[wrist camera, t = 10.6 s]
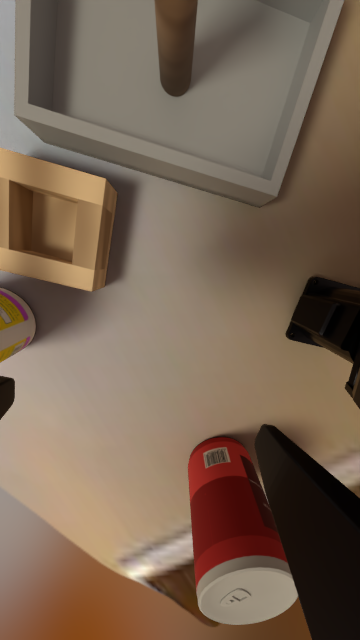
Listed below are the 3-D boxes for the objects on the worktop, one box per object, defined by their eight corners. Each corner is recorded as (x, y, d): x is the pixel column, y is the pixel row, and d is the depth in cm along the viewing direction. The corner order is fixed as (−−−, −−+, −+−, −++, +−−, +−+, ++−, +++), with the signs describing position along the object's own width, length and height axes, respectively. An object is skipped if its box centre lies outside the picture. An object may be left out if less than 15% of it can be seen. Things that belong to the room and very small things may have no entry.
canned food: (175, 467, 25) (177, 612, 15) (211, 424, 24) (242, 555, 13) (222, 488, 27) (254, 634, 16) (259, 449, 25) (322, 586, 15)
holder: (117, 193, 16) (105, 178, 13) (104, 286, 18) (91, 291, 16) (16, 164, 16) (-19, 142, 13) (15, 265, 18) (-16, 266, 15)
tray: (319, 22, 14) (358, -42, 11) (259, 207, 17) (277, 196, 14) (55, -89, 12) (17, -200, 9) (44, 142, 15) (14, 114, 12)
